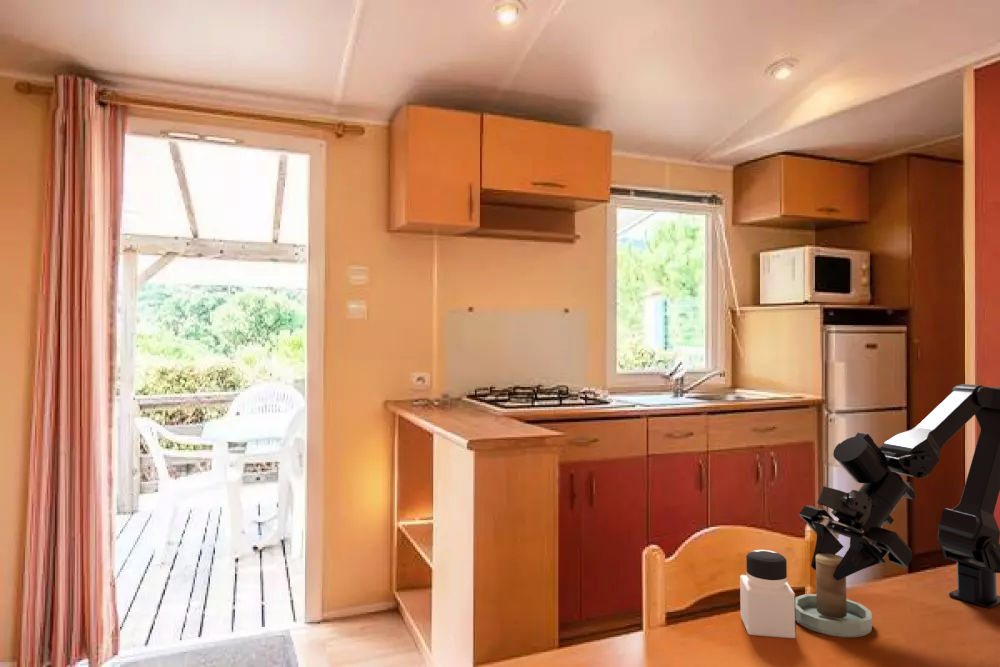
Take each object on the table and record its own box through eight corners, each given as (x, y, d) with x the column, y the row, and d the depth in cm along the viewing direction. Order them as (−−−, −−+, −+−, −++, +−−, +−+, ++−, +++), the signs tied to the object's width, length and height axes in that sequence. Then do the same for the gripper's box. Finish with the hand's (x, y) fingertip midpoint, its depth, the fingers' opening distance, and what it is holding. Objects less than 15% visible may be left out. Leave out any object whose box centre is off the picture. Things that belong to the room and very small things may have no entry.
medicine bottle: (796, 639, 98) (795, 562, 99) (748, 635, 100) (747, 559, 100) (785, 620, 105) (784, 547, 106) (740, 616, 107) (739, 545, 107)
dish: (819, 601, 113) (819, 589, 113) (886, 626, 103) (886, 612, 103) (777, 616, 107) (777, 603, 107) (844, 643, 97) (844, 629, 97)
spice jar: (830, 605, 108) (829, 552, 108) (853, 615, 103) (851, 560, 104) (810, 609, 106) (809, 555, 106) (832, 619, 102) (831, 563, 102)
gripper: (806, 460, 115) (756, 526, 112) (896, 481, 97) (840, 560, 94) (842, 500, 117) (794, 566, 114) (936, 527, 99) (883, 607, 96)
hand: (823, 573), depth 104 cm, fingers closed on spice jar, 4 cm apart
